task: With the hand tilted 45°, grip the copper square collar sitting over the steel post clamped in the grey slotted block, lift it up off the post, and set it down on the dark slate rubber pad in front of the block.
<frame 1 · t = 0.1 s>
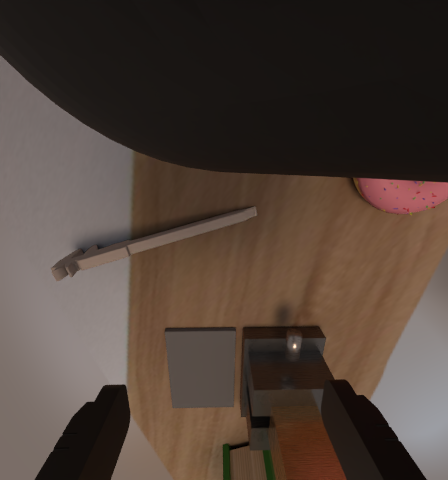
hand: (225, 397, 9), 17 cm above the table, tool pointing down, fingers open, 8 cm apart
slate pad: (202, 368, 32), on the table
caliper: (166, 231, 25), on the table
copper collar: (291, 421, 25), point 7 cm above the table, touching grey slotted block
grey slotted block: (276, 367, 32), on the table
doughnut: (396, 156, 23), on the table
hardback book: (259, 467, 40), on the table
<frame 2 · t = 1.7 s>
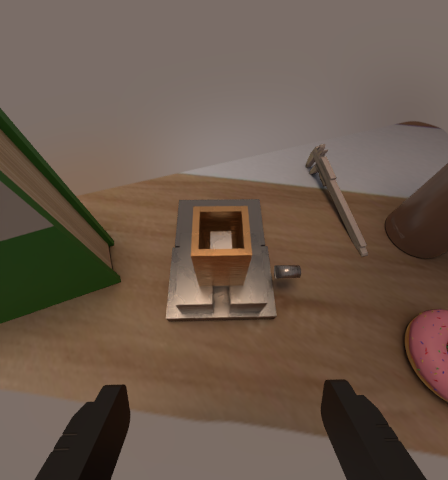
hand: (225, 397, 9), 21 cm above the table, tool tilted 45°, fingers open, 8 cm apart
slate pad: (219, 223, 38), on the table
caliper: (331, 207, 40), on the table
copper collar: (220, 265, 27), point 7 cm above the table, touching grey slotted block
grey slotted block: (220, 283, 33), on the table
doughnut: (441, 356, 29), on the table
hardback book: (55, 280, 33), on the table
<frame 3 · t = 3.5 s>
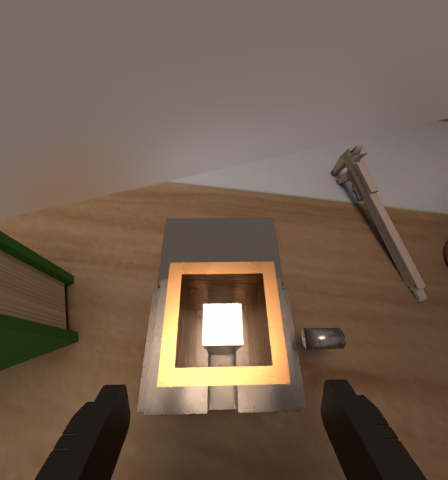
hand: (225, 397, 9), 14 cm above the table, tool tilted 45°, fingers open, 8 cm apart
slate pad: (220, 251, 28), on the table
caliper: (368, 228, 30), on the table
copper collar: (221, 336, 17), point 7 cm above the table, touching grey slotted block
grey slotted block: (221, 344, 23), on the table
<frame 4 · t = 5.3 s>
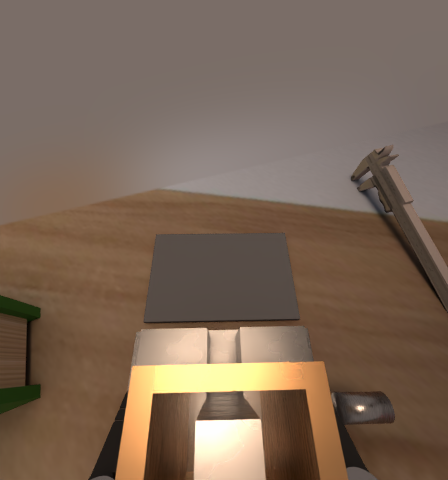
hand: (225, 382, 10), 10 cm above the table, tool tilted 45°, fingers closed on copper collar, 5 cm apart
slate pad: (221, 274, 23), on the table
caliper: (398, 245, 25), on the table
copper collar: (225, 419, 12), point 7 cm above the table, touching grey slotted block, gripper
grey slotted block: (223, 401, 18), on the table
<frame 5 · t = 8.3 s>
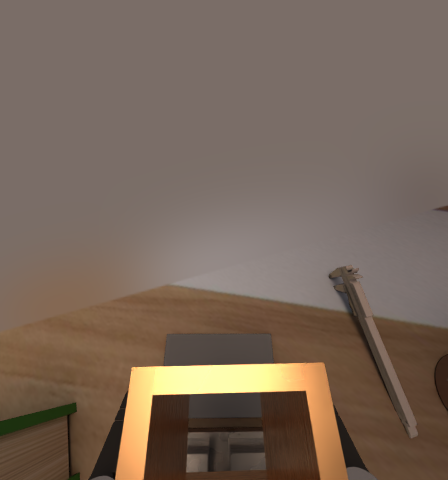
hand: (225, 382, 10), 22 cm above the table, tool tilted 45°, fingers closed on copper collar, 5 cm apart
slate pad: (219, 372, 29), on the table
caliper: (363, 343, 31), on the table
copper collar: (225, 420, 12), point 19 cm above the table, touching gripper
when the fingers open (5 cm above the table, at t = 11.1 s): copper collar drops 1 cm, resting on slate pad.
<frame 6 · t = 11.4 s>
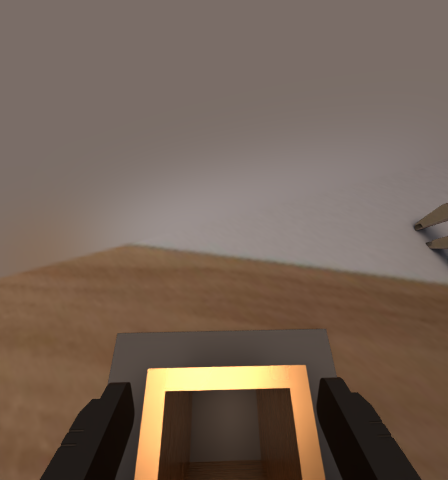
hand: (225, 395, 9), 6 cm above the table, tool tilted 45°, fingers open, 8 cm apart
slate pad: (224, 413, 13), on the table
copper collar: (224, 416, 13), point 1 cm above the table, touching slate pad
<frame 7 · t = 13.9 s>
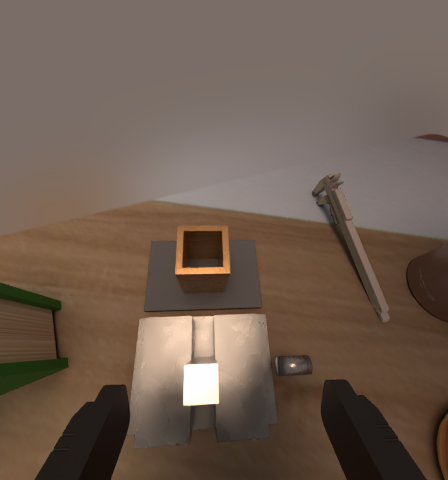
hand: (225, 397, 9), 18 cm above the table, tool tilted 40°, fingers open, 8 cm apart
slate pad: (204, 274, 29), on the table
caliper: (343, 250, 33), on the table
copper collar: (204, 273, 29), point 1 cm above the table, touching slate pad
grey slotted block: (204, 366, 25), on the table
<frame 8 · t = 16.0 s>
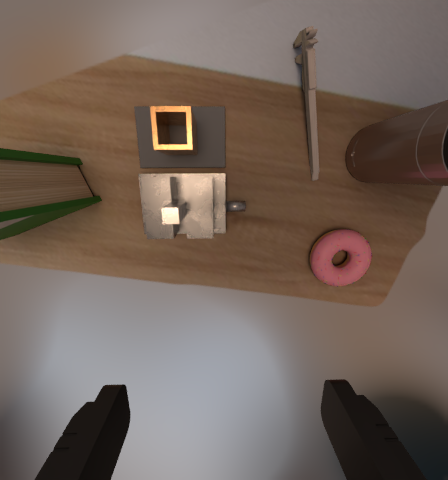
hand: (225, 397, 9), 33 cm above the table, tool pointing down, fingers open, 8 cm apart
slate pad: (182, 138, 37), on the table
caliper: (305, 117, 37), on the table
copper collar: (181, 138, 36), point 1 cm above the table, touching slate pad
grey slotted block: (185, 203, 40), on the table
doughnut: (334, 254, 43), on the table
hardback book: (46, 198, 39), on the table
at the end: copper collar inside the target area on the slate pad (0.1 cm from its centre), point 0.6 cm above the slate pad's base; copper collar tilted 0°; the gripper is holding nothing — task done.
